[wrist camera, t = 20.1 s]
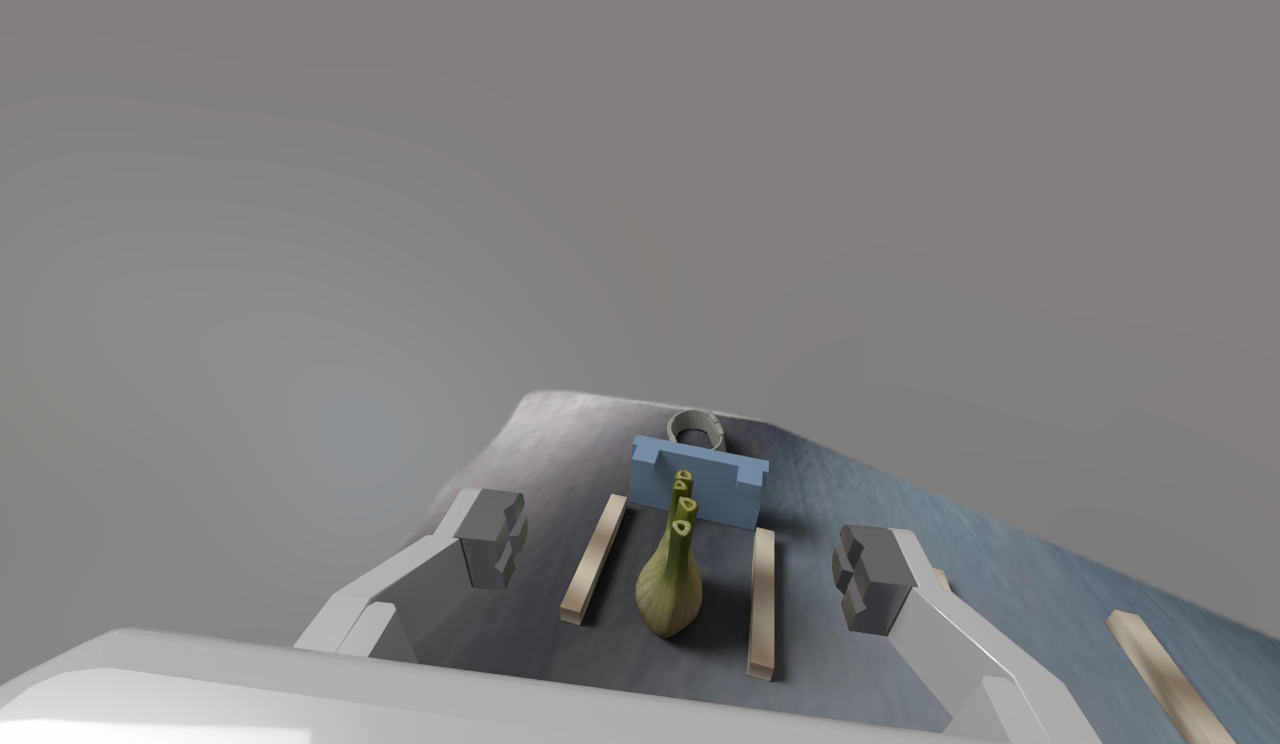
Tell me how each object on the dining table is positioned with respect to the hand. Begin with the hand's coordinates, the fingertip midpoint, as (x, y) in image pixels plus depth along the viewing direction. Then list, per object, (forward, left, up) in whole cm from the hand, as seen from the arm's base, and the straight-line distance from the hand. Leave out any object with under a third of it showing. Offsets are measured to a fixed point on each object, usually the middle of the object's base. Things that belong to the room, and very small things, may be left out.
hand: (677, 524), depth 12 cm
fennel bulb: (+14, +1, -23) cm, 27 cm away
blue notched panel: (+23, +1, -23) cm, 33 cm away
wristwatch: (+34, +2, -24) cm, 41 cm away
